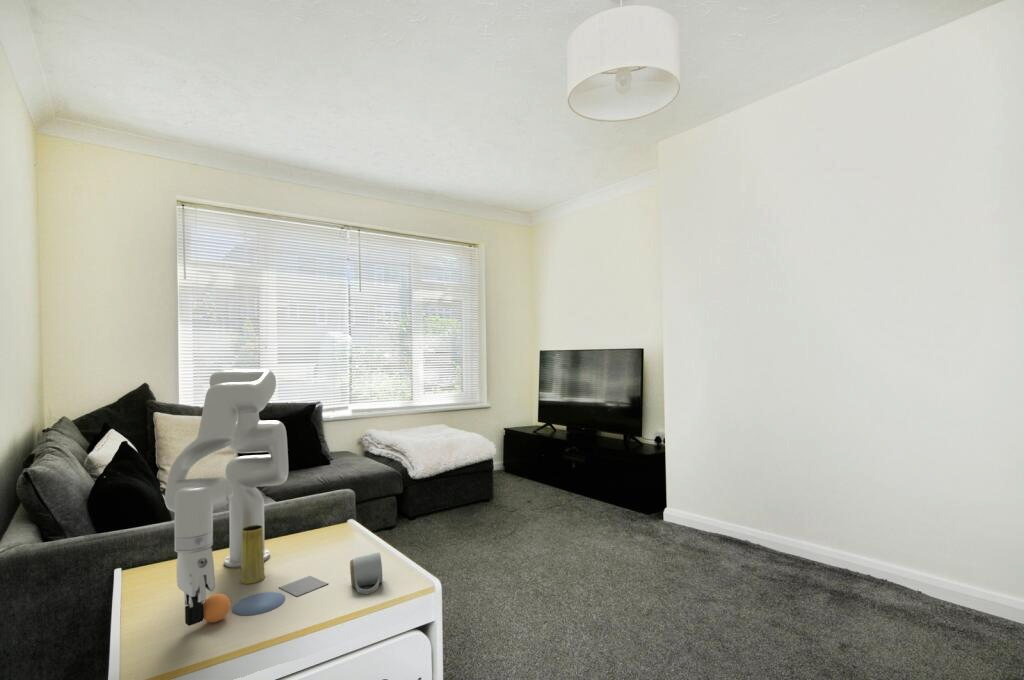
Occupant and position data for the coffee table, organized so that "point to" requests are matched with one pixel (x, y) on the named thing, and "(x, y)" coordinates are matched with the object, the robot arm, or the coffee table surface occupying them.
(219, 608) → the ball
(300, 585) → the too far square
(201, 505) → the robot arm
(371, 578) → the grey rounded holder
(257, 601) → the disc
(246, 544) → the vase
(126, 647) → the coffee table surface
